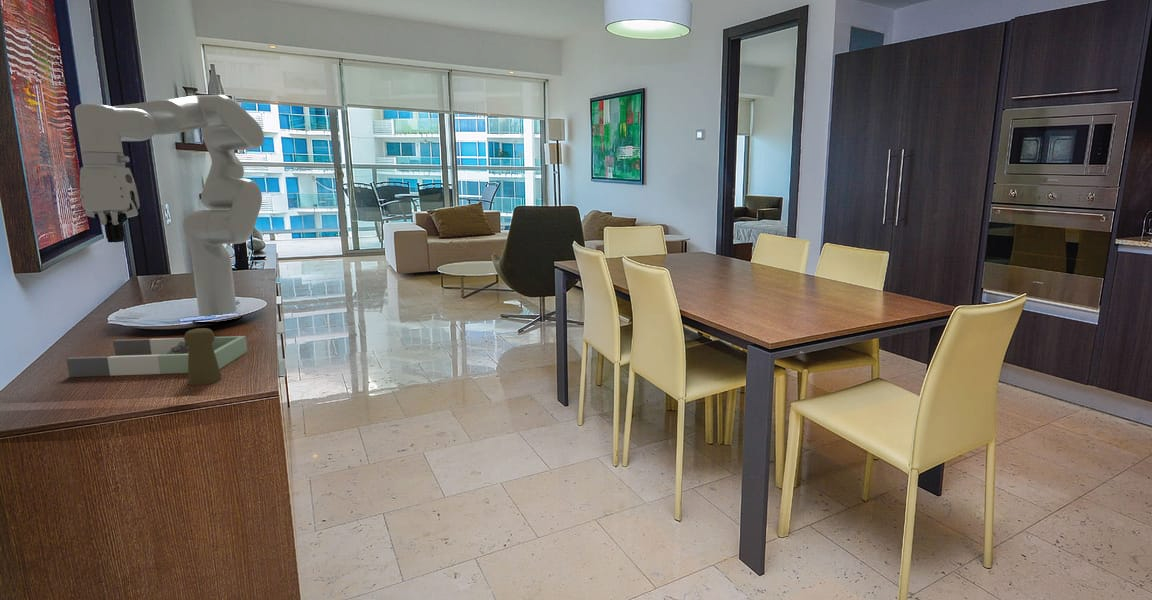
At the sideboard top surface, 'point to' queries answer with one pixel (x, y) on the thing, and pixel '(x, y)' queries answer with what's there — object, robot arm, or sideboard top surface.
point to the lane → (151, 357)
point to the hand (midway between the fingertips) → (116, 241)
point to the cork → (201, 357)
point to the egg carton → (179, 349)
